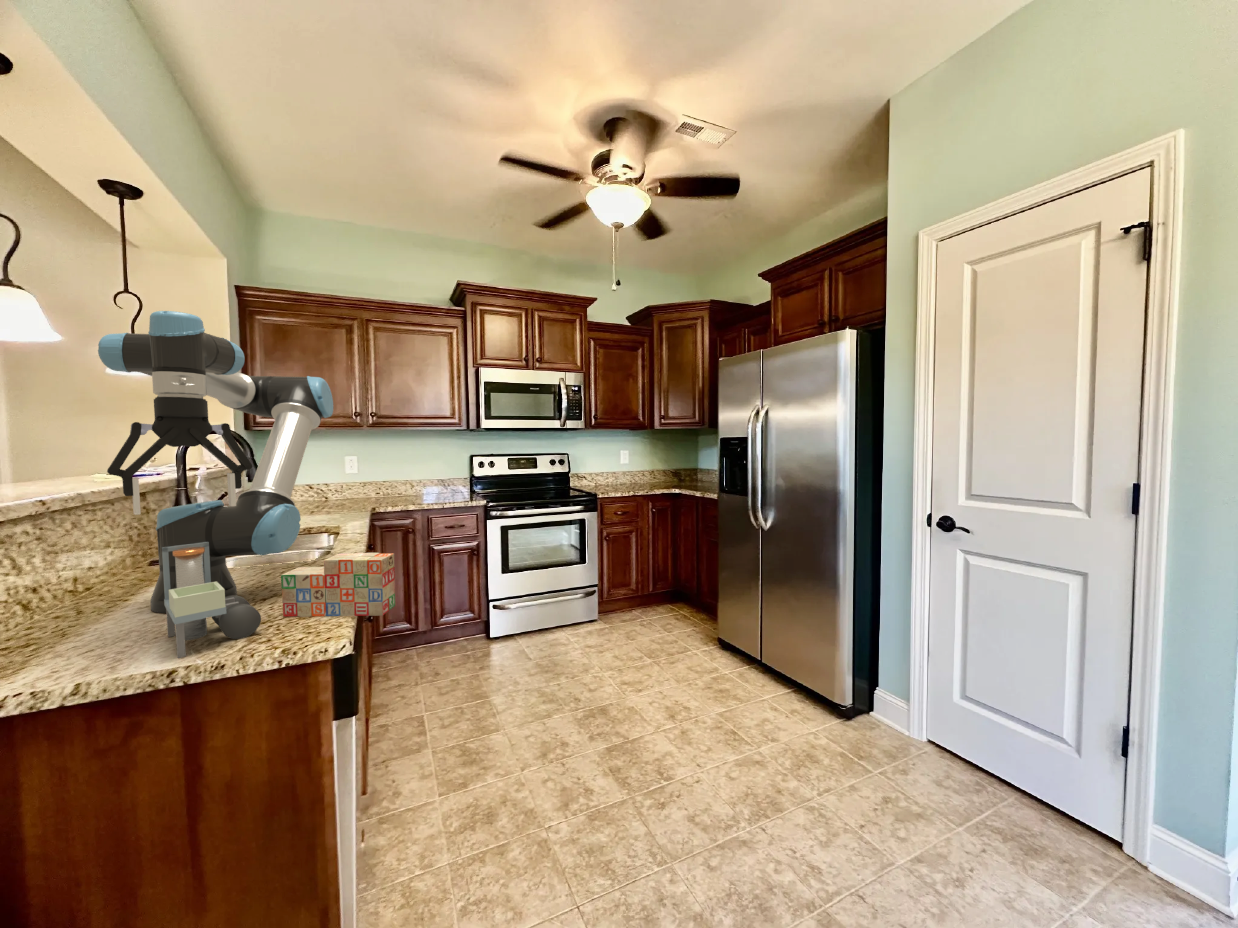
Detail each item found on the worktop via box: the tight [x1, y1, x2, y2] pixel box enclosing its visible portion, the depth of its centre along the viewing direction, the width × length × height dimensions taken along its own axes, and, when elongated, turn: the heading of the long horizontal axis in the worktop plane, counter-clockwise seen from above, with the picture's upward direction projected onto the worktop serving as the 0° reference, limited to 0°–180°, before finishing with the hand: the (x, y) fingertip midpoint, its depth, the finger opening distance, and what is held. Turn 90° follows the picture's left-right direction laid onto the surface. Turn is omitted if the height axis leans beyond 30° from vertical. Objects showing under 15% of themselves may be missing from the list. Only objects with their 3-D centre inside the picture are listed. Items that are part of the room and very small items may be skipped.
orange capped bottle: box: [173, 547, 208, 641], centre depth 93 cm, size 5×5×17 cm
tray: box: [169, 581, 225, 618], centre depth 88 cm, size 8×7×3 cm
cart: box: [162, 542, 262, 659], centre depth 93 cm, size 15×12×17 cm
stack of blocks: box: [280, 552, 396, 618], centre depth 106 cm, size 21×6×12 cm, turn 91°
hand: (187, 509), depth 92 cm, fingers open, 13 cm apart
